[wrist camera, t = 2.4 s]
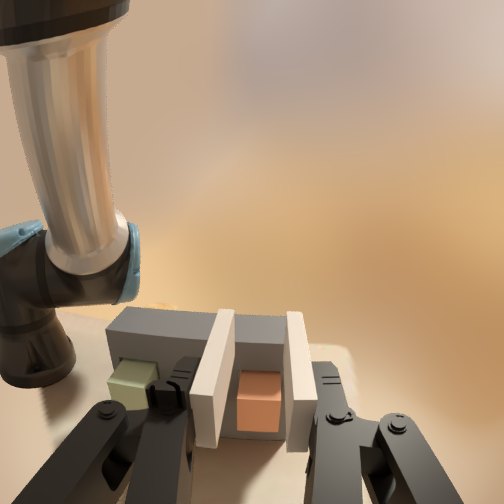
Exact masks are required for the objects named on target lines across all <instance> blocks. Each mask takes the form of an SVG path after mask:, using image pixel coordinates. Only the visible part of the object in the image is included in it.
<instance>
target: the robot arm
mask: <svg viewBox="0 0 504 504" xmlns="http://www.w3.org/2000/svg"><path fill="white" fill-rule="evenodd" d="M129 3H130V0H0V54H1V55H3V56H5V57H6V60H7V67H8V75H9V81H10V88H11V93H12V98H13V104H14V109H15V114H16V119H17V124H18V128H19V132H20V136H21V140H22V145H23V148H24V152H25V156H26V159H27V163H28V167H29V170H30V173H31V176H32V180H33V183H34V186H35V189H36V193H37V195H38V199H39V202H40V204H41V207H42V210H43V213H44V216H45V219H46V221H47V224H48V230H43V225H42V223H41V221H40V220H34V221H27V222H23V223H19V224H16V225H12V226H10V227H6V228H3V229H1V230H0V375H1V377H2V378H3V380H4V381H5V382H6V383H8V384H10V385H12V386H14V387H18V388H26V389H31V388H39V387H43V386H47V385H50V384H52V383H55V382H57V381H58V380H60V379H62V378H63V377H64V376H66V375H67V374H68V373H69V372H70V371H71V370H72V368H73V367H74V365H75V362H76V354H75V350H74V347H73V344H72V341H71V340H70V338H69V337H68V336H67V335H66V333H65V331H64V329H63V327H62V325H61V323H60V322H59V320H58V318H57V316H56V312H55V308H59V307H73V306H90V305H102V304H103V305H104V304H111V305H117V304H119V303H124V302H131V301H133V300H134V299H135V298H136V297H137V295H138V292H139V284H140V270H139V269H140V238H139V230H138V227H137V226H136V225H135V224H133V223H129V222H126V219H125V218H124V216H123V214H122V213H121V212H120V211H119V210H117V208H115V207H114V203H113V194H112V185H111V175H110V163H109V150H108V132H107V107H106V106H107V105H106V59H107V36H108V33H109V32H110V31H111V30H112V29H113V28H114V27H115V26H116V25H117V24H119V23H120V22H121V21H122V20H123V19H124V18H125V17H126V16H127V15H128V11H129ZM234 357H235V319H234V310H232V309H219V311H218V313H217V316H216V319H215V322H214V325H213V328H212V330H211V333H210V336H209V339H208V342H207V345H206V347H205V350H204V353H203V356H202V358H200V357H189V356H184V357H183V358H181V359H180V360H179V361H178V362H177V363H176V365H175V367H174V369H173V371H172V374H171V377H170V378H169V379H168V378H166V379H158V380H155V381H152V382H151V383H149V384H148V385H147V387H146V388H145V392H146V397H147V401H148V406H149V408H146V409H141V410H126V407H125V406H124V405H123V404H122V403H120V402H118V401H114V400H105V401H101V402H99V403H97V404H96V405H94V406H93V407H92V408H91V409H90V410H89V412H88V413H87V414H86V415H85V416H84V417H83V419H82V420H81V421H80V422H79V423H78V424H77V426H76V427H75V428H74V429H73V430H72V432H71V433H70V434H69V435H68V436H67V437H66V439H65V440H64V441H63V442H62V443H61V445H60V446H59V447H58V448H57V449H56V450H55V452H54V453H53V454H52V455H51V456H50V458H49V459H48V460H47V461H46V462H45V464H44V465H43V466H42V467H41V468H40V470H39V471H38V472H37V473H36V474H35V476H34V477H33V478H32V479H31V480H30V482H29V483H28V484H27V485H26V486H25V488H24V489H23V490H22V491H21V493H20V494H19V495H18V496H17V497H16V499H15V500H14V501H13V502H12V503H11V504H116V503H117V501H118V500H119V498H120V496H121V495H122V493H123V491H124V489H125V488H126V486H127V484H128V483H129V481H130V483H129V487H128V492H127V496H126V501H125V504H191V492H192V476H193V462H194V453H193V445H194V441H196V446H197V447H205V448H214V449H217V445H218V440H219V434H220V429H221V424H222V419H223V414H224V409H225V403H226V398H227V393H228V388H229V383H230V378H231V372H232V367H233V362H234ZM283 366H284V390H285V416H286V447H287V452H307V451H308V447H309V450H310V455H309V459H308V463H307V468H306V472H305V473H307V476H306V486H305V495H304V504H363V500H362V478H361V475H362V477H363V480H364V483H365V485H366V488H367V490H368V493H369V496H370V498H371V501H372V504H464V503H463V501H462V500H461V498H460V496H459V494H458V493H457V491H456V489H455V488H454V486H453V484H452V482H451V481H450V479H449V477H448V476H447V474H446V472H445V471H444V469H443V467H442V466H441V464H440V462H439V461H438V459H437V458H436V456H435V454H434V453H433V451H432V450H431V448H430V446H429V445H428V443H427V441H426V440H425V438H424V436H423V435H422V433H421V432H420V430H419V428H418V427H417V425H416V424H415V422H414V421H413V420H412V419H411V418H410V417H408V416H406V415H404V414H400V413H390V414H387V415H385V416H384V417H383V418H381V420H380V422H376V421H370V420H365V419H361V418H359V417H357V416H356V414H355V412H354V411H353V410H352V409H351V408H349V407H348V404H347V401H346V397H345V394H344V390H343V387H342V384H341V379H340V376H339V372H338V369H337V368H336V367H335V366H334V365H333V363H332V362H331V361H330V362H311V358H310V352H309V347H308V341H307V336H306V331H305V325H304V320H303V315H302V312H286V326H285V340H284V353H283Z"/></svg>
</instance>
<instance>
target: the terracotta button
mask: <svg viewBox="0 0 504 504" xmlns="http://www.w3.org/2000/svg"><path fill="white" fill-rule="evenodd" d="M280 409H281V372H280V371H254V370H241V375H240V382H239V389H238V395H237V430H239V431H257V432H278V428H279V419H280Z"/></svg>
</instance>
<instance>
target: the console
mask: <svg viewBox="0 0 504 504" xmlns="http://www.w3.org/2000/svg"><path fill="white" fill-rule="evenodd" d="M216 316H217V313H202V312H188V311H174V310H162V309H150V308H139V307H126V308H125V309H124V310H123V311H122V312H121V313H120V314H119V315H118V316H117V317H116V318H115V319H114V320H113V322H112V323H111V324H110V325H109V326H108V327H107V328H106V329H105V330H106V336H107V341H108V346H109V350H110V355H111V360H112V364H113V368H114V371H115V370H116V368H117V367H118V365H119V364H120V362H121V361H122V360H123V358H130V359H137V360H144V361H152V362H158V369H159V375H160V379H166V378H168V379H169V378H170V377H171V374H172V371H173V369H174V367H175V365H176V363H177V362H178V361H179V360H180V359H181V358H183V357H184V356H189V357H200V358H202V356H203V353H204V350H205V347H206V345H207V342H208V339H209V336H210V333H211V330H212V328H213V325H214V322H215V319H216ZM234 319H235V357H234V362H233V367H232V372H231V378H230V383H229V388H228V393H227V398H226V403H225V409H224V414H223V419H222V424H221V429H220V434H219V437H224V438H237V439H255V440H286V416H285V390H284V366H283V353H284V340H285V326H286V316H261V315H239V314H234ZM241 370H254V371H280V372H281V409H280V419H279V428H278V432H257V431H239V430H237V395H238V389H239V382H240V375H241Z"/></svg>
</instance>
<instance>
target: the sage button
mask: <svg viewBox="0 0 504 504" xmlns="http://www.w3.org/2000/svg"><path fill="white" fill-rule="evenodd" d="M158 379H160V375H159V369H158V362H152V361H144V360H137V359H130V358H123V360H122V361H121V362H120V364H119V365H118V367H117V368H116V370H115V371H114V372H113V374H112V375H111V377H110V378H109V380H108V381H107V384H108V387H109V391H110V395H111V398H112V400H114V401H118V402H120V403H122V404H123V405H124V406H125V407H126V410H141V409H146V408H149V406H148V401H147V397H146V392H145V388H146V387H147V385H148V384H149V383H151V382H152V381H155V380H158Z"/></svg>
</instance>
